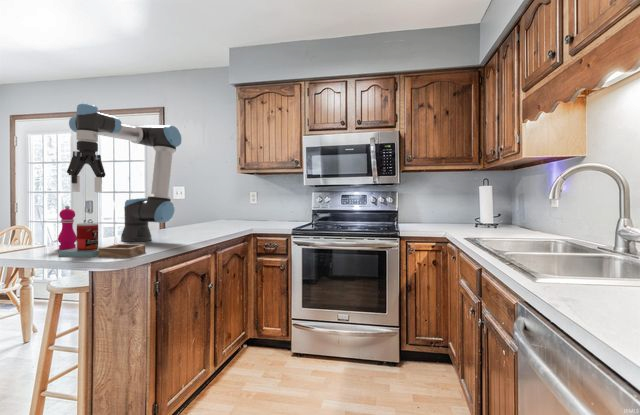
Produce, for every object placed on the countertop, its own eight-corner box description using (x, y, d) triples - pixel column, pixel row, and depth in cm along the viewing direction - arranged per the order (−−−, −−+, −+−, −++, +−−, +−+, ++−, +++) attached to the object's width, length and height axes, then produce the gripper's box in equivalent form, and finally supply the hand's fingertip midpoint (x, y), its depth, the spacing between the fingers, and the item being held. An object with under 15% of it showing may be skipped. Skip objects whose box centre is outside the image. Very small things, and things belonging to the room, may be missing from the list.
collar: (117, 251, 158) (117, 243, 158) (145, 252, 158) (145, 244, 158) (98, 256, 145) (98, 248, 145) (128, 257, 145) (128, 249, 145)
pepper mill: (75, 246, 169) (75, 205, 168) (78, 248, 164) (78, 205, 163) (56, 248, 164) (56, 205, 163) (59, 250, 159) (59, 205, 158)
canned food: (87, 251, 147) (87, 224, 146) (71, 249, 148) (71, 223, 148) (102, 248, 154) (102, 223, 154) (87, 247, 156) (87, 222, 155)
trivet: (82, 250, 158) (82, 246, 158) (113, 251, 158) (113, 247, 158) (58, 256, 144) (58, 251, 144) (92, 257, 144) (92, 252, 144)
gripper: (74, 137, 137) (74, 191, 138) (114, 145, 162) (114, 192, 163) (55, 136, 137) (56, 191, 138) (98, 145, 162) (98, 191, 163)
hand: (87, 191), depth 150 cm, fingers open, 13 cm apart
